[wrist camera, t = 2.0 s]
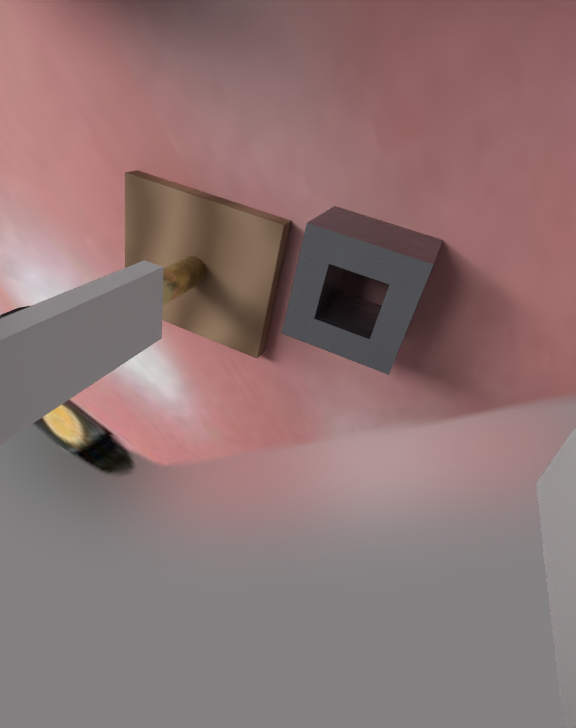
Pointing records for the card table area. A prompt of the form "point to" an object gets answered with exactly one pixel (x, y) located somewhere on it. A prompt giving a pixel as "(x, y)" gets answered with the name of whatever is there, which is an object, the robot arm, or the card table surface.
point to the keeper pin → (182, 277)
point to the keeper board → (209, 257)
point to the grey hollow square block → (348, 312)
